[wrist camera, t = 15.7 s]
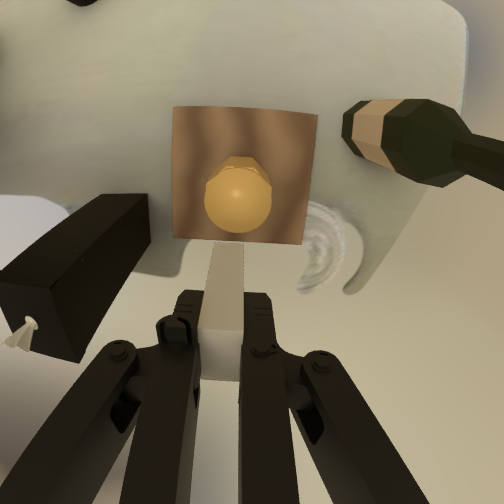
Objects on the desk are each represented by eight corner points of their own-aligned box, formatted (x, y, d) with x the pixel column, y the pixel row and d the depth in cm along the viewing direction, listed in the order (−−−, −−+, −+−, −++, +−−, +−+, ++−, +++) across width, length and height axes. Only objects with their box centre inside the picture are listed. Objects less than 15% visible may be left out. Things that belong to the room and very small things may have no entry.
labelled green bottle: (329, 139, 36) (499, 213, 9) (356, 89, 33) (546, 81, 6) (377, 168, 38) (542, 275, 11) (402, 122, 34) (585, 172, 8)
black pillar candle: (151, 242, 42) (66, 392, 17) (106, 240, 42) (4, 370, 17) (148, 192, 39) (26, 316, 14) (100, 193, 38) (-33, 300, 13)
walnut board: (176, 232, 42) (173, 237, 40) (177, 107, 34) (173, 106, 32) (299, 239, 42) (301, 244, 41) (314, 115, 34) (317, 115, 33)
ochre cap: (212, 206, 35) (203, 231, 28) (214, 155, 32) (205, 167, 25) (264, 208, 35) (268, 234, 28) (268, 158, 32) (274, 171, 25)
